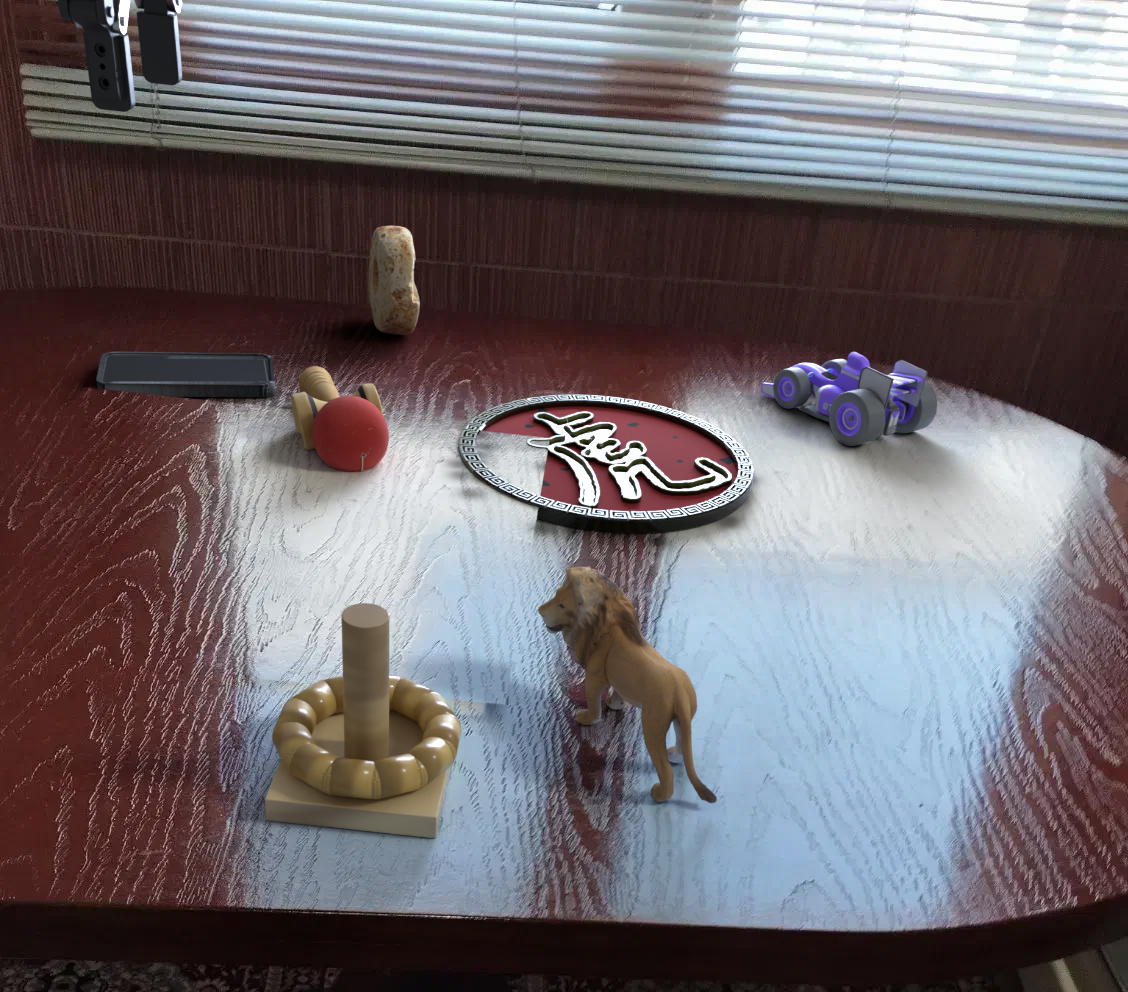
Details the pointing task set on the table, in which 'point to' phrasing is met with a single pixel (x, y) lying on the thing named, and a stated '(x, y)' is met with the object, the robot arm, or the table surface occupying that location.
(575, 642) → the lion figurine
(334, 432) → the kendama
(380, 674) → the post
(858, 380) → the toy race car
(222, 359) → the phone
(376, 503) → the table surface
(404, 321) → the stone disc
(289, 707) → the ring
